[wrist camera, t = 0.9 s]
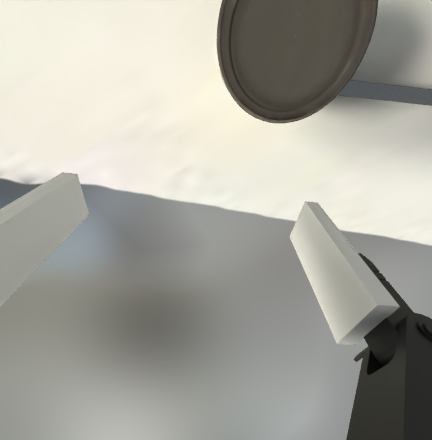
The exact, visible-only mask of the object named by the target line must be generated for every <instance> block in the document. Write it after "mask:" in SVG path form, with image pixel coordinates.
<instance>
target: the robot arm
mask: <svg viewBox="0 0 432 440" xmlns="http://www.w3.org/2000/svg"><path fill="white" fill-rule="evenodd" d="M88 216H89V213H88V209H87V206H86V202H85V199H84V196H83V192H82V189H81V185H80V182H79V179H78V175H77V174H72V173H61V174H59V175H58V176H56V177H54V178H53V179H51V180H49V181H47V182H46V183H44V184H42V185H41V186H39V187H37V188H36V189H34V190H32V191H30V192H29V193H27V194H25V195H24V196H22V197H20V198H19V199H17V200H15V201H14V202H12V203H10V204H8V205H7V206H5V207H3V208H2V209H0V306H1V305H2V304H3V303H4V302H5V301H6V300H7V299H8V298H9V297H10V296H11V295H12V294H13V293H14V292H15V291H16V290H17V289H18V288H19V287H20V286H21V285H22V284H23V283H24V282H25V280H26V279H28V278H29V277H30V275H31V274H32V273H33V272H34V271H35V270H36V269H37V268H38V267H39V266H40V265H41V264H42V263H43V262H44V261H45V260H46V259H47V258H48V257H49V256H50V255H51V254H52V253H53V252H54V251H55V250H56V249H57V248H58V247H59V246H60V244H61V243H63V241H64V240H65V239H66V238H67V237H68V236H69V235H70V234H71V233H72V232H73V231H74V230H75V229H76V228H77V227H78V226H79V225H80V224H81V223H82V222H83V221H84V220H85V219H86V218H87V217H88ZM290 239H291V241H292V243H293V245H294V248H295V250H296V252H297V254H298V256H299V259H300V261H301V263H302V266H303V268H304V270H305V272H306V275H307V277H308V279H309V281H310V284H311V286H312V288H313V291H314V293H315V295H316V297H317V300H318V302H319V304H320V306H321V309H322V311H323V313H324V315H325V317H326V320H327V322H328V324H329V327H330V329H331V331H332V333H333V336H334V338H335V340H336V342H337V344H348V345H356V344H357V343H358V342H359V341H360V340H362V339H363V338H364V339H365V340H366V342H367V344H368V347H367V348H366V349H364V350H363V351H362V352H360V353H359V354H358V355H357V356H356V357H355V359H354V360H355V361H356V362H357V361H359V360H360V359H361V358H363V360H362V365H361V370H360V375H359V380H358V385H357V390H356V395H355V400H354V405H353V409H352V414H351V419H350V425H349V429H348V434H347V440H432V319H431V318H429V317H426V316H424V315H422V314H417V313H414V312H413V311H412V310H411V309H410V308H409V306H408V305H407V304H406V303H405V301H404V300H403V299H402V298H401V297H400V295H399V294H398V293H397V292H396V291H395V289H394V288H393V287H392V286H391V285H390V283H389V282H388V281H386V279H385V277H384V276H383V275H382V274H381V273H379V270H378V269H377V268H376V267H375V265H374V264H373V263H372V262H371V261H369V259H367V258H366V257H365V256H363V255H362V254H361V253H357V252H356V251H355V249H354V248H353V247H352V246H351V244H350V243H349V242H348V240H347V239H346V238H345V237H344V236H343V234H342V233H341V232H340V230H339V229H338V228H337V227H336V225H335V224H334V223H333V222H332V220H331V219H330V218H329V217H328V215H327V214H326V213H325V212H324V210H323V209H322V208H321V206H320V205H319V204H318V203H315V202H306V201H305V203H304V205H303V208H302V210H301V212H300V214H299V217H298V219H297V221H296V223H295V226H294V228H293V230H292V233H291V235H290Z"/></svg>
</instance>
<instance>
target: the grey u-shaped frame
mask: <svg viewBox="0 0 432 440" xmlns="http://www.w3.org/2000/svg"><path fill="white" fill-rule="evenodd" d="M338 95H341V96H350V97H359V98H368V99H377V100H386V101H395V102H404V103H413V104H422V105H431V106H432V90H431V89H422V88H413V87H404V86H396V85H387V84H378V83H370V82H361V81H352V80H350V81H349V82H348V83H347V85H346V86H345V87H344V88H343V89H342V91H341V92H340V93H339V94H338Z"/></svg>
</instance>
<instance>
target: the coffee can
mask: <svg viewBox="0 0 432 440" xmlns="http://www.w3.org/2000/svg"><path fill="white" fill-rule="evenodd" d="M377 7H378V0H222V4H221V8H220V13H219V19H218V27H217V53H218V61H219V66H220V71H221V76H222V79H223V81H224V84H225V86H226V87H227V89H228V91H229V92H230V94H231V96H232V97H233V99H234V100H235V101H236V102H237V104H238V105H239V106H240V107H241V108H242V109H243V110H244V111H246V112H247V113H248V114H250V115H252V116H253V117H255V118H257V119H260V120H262V121H266V122H270V123H289V122H294V121H298V120H301V119H304V118H306V117H308V116H310V115H312V114H314V113H316V112H317V111H319V110H321V109H322V108H323V107H325V106H326V105H327V104H328V103H330V102H331V101H332V100H333V99H334V98H335V97H336V96H337V95H338V94H339V93H340V92H341V91H342V89H343V88H344V87H345V86H346V85H347V83H348V82H349V81H350V79H351V78H352V76H353V75H354V73H355V71H356V70H357V68H358V66H359V65H360V63H361V61H362V59H363V57H364V55H365V53H366V50H367V48H368V45H369V43H370V40H371V36H372V33H373V30H374V26H375V21H376V15H377Z"/></svg>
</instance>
